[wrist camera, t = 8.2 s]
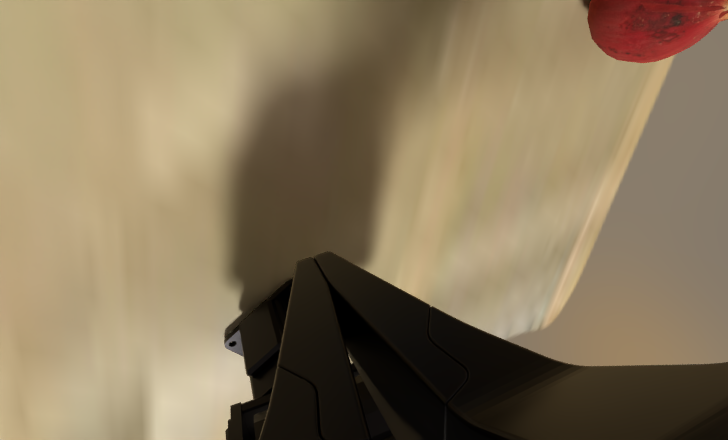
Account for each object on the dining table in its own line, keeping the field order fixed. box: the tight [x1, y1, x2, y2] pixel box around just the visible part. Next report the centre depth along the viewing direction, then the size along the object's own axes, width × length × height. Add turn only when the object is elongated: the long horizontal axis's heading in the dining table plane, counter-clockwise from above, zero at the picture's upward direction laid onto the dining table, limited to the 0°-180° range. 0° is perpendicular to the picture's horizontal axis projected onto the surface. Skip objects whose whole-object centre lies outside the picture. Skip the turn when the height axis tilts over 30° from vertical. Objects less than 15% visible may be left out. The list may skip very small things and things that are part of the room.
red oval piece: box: [588, 0, 728, 63], centre depth 21 cm, size 6×6×8 cm
